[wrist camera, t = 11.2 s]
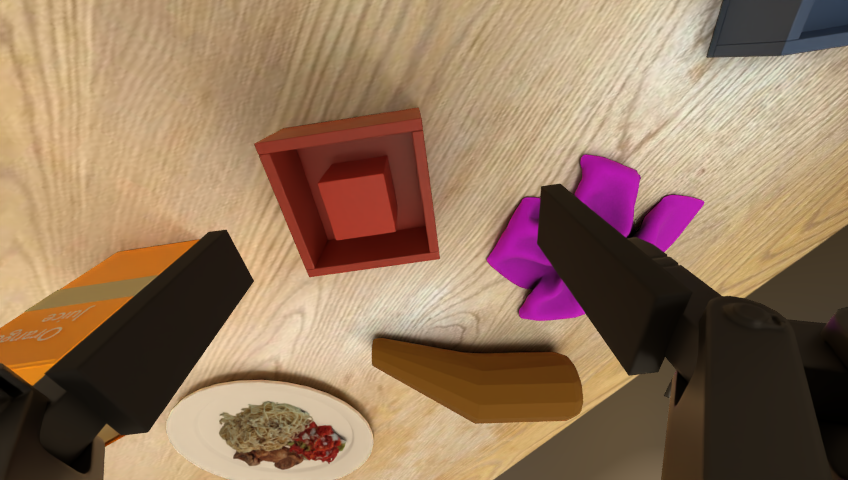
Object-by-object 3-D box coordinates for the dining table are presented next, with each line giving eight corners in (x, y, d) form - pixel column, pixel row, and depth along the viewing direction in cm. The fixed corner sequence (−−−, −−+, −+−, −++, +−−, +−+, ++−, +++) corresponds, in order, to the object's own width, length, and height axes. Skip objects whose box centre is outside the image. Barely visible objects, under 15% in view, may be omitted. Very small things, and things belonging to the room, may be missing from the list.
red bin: (282, 128, 25) (253, 143, 21) (418, 107, 25) (421, 117, 20) (324, 244, 31) (308, 277, 26) (435, 228, 31) (440, 259, 26)
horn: (376, 328, 41) (554, 326, 43) (376, 401, 42) (553, 397, 43) (369, 352, 33) (588, 348, 35) (369, 442, 34) (586, 434, 35)
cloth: (537, 335, 40) (557, 376, 34) (454, 243, 32) (463, 279, 27) (716, 239, 33) (774, 272, 28) (666, 95, 26) (733, 104, 20)
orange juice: (116, 250, 31) (-264, 494, 13) (200, 238, 30) (-76, 470, 13) (161, 307, 34) (-86, 552, 17) (235, 297, 34) (60, 534, 17)
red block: (331, 163, 27) (316, 183, 22) (387, 155, 26) (383, 173, 22) (346, 214, 29) (335, 240, 25) (397, 207, 29) (396, 232, 25)
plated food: (132, 380, 40) (110, 404, 37) (355, 360, 40) (351, 383, 38) (223, 481, 56) (213, 504, 53) (386, 466, 56) (384, 489, 53)
